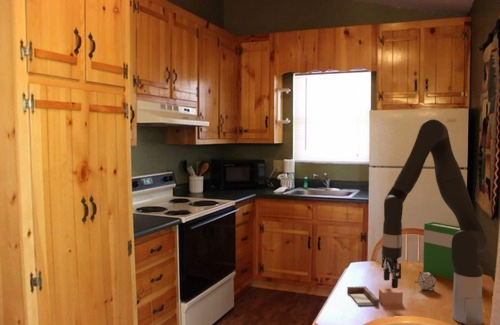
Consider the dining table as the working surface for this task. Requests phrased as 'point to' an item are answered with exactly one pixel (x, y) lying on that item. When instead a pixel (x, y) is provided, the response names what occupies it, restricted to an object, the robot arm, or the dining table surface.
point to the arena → (363, 296)
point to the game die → (426, 281)
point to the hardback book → (439, 249)
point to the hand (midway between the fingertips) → (390, 283)
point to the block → (391, 296)
